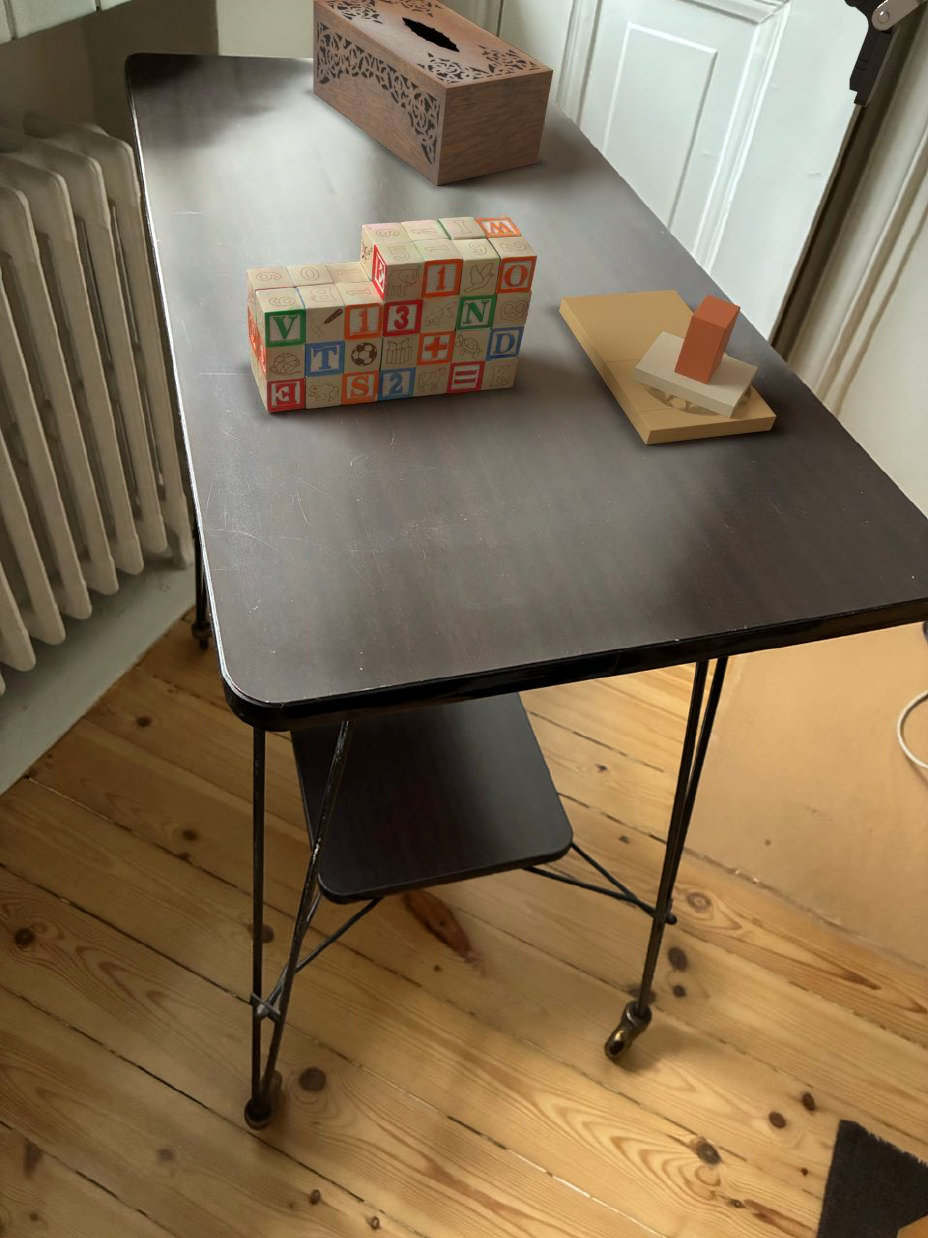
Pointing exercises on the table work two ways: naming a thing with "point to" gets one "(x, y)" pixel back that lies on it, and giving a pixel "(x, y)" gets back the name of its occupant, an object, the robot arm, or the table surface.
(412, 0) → the tissue box cover
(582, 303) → the base pad
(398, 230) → the stack of blocks
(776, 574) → the table surface
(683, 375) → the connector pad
